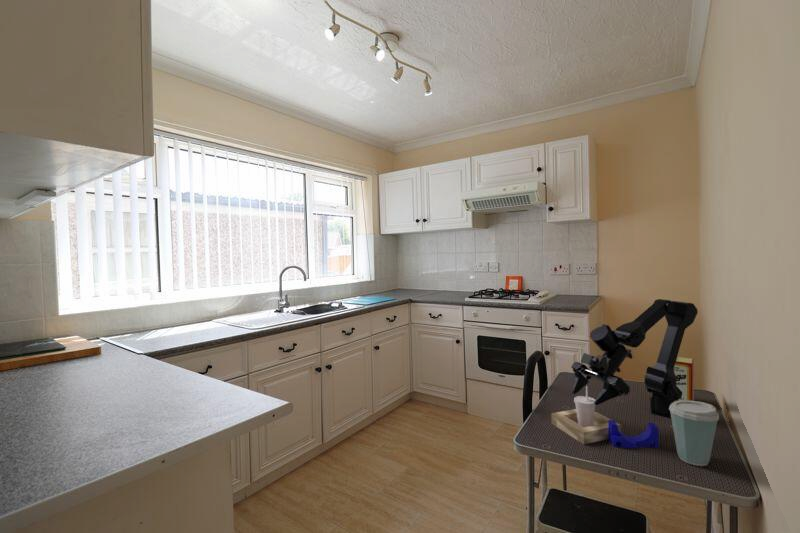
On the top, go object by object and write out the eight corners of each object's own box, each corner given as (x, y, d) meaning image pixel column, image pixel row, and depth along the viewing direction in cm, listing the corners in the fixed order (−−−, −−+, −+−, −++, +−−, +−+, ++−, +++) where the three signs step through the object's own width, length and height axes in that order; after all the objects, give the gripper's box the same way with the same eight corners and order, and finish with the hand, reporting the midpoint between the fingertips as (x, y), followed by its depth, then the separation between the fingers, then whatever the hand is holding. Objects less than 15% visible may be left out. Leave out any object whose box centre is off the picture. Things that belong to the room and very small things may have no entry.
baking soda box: (693, 401, 138) (693, 358, 137) (692, 407, 133) (692, 362, 132) (662, 395, 144) (662, 354, 144) (660, 400, 139) (660, 358, 139)
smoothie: (597, 436, 115) (596, 391, 114) (574, 432, 118) (573, 388, 117) (596, 427, 121) (596, 384, 120) (574, 423, 123) (574, 381, 123)
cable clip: (613, 447, 109) (613, 426, 108) (608, 439, 113) (608, 420, 113) (660, 451, 106) (660, 430, 106) (653, 443, 110) (653, 423, 110)
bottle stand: (586, 417, 128) (586, 406, 128) (621, 436, 114) (621, 424, 114) (551, 423, 124) (551, 413, 124) (583, 444, 110) (583, 432, 110)
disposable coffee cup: (670, 464, 99) (670, 408, 99) (667, 445, 108) (667, 394, 108) (722, 475, 94) (723, 416, 93) (714, 455, 103) (715, 401, 102)
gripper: (575, 338, 128) (548, 374, 126) (622, 351, 110) (592, 393, 108) (594, 358, 131) (568, 393, 128) (642, 374, 113) (614, 416, 110)
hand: (583, 398), depth 119 cm, fingers open, 9 cm apart
